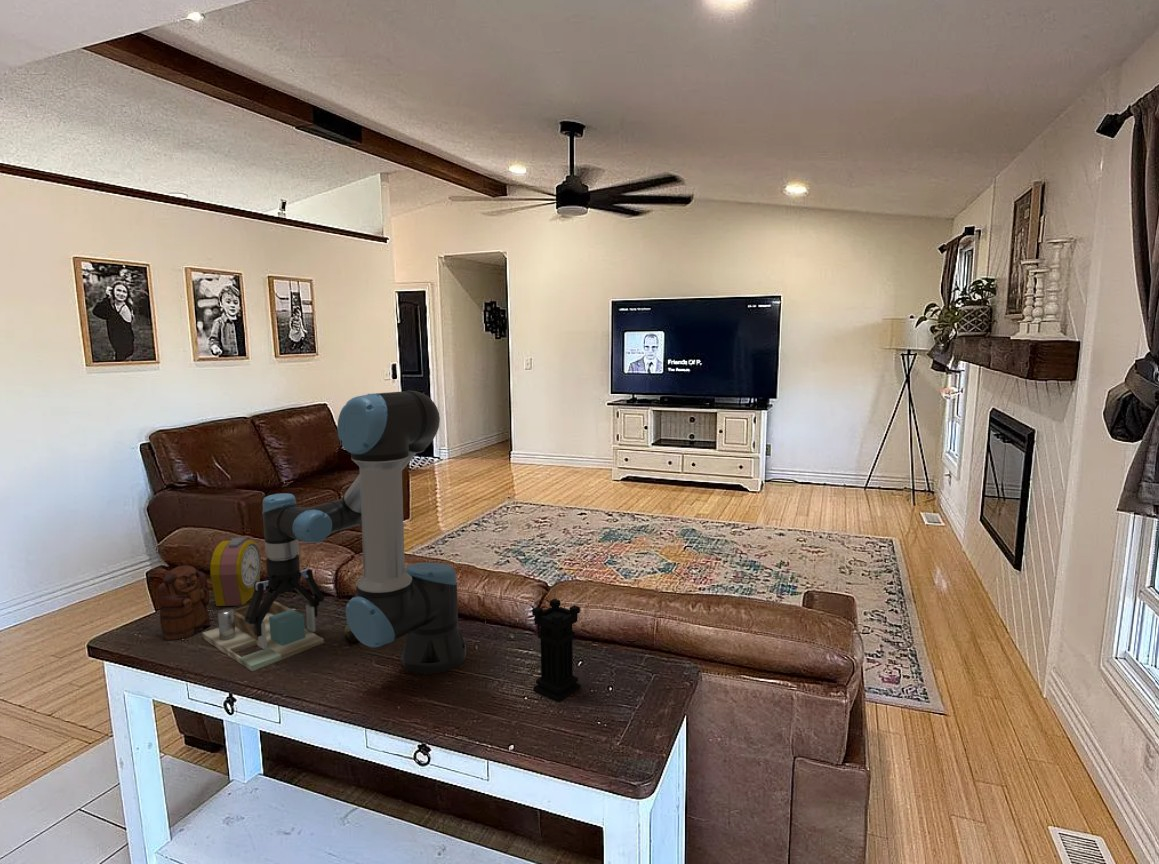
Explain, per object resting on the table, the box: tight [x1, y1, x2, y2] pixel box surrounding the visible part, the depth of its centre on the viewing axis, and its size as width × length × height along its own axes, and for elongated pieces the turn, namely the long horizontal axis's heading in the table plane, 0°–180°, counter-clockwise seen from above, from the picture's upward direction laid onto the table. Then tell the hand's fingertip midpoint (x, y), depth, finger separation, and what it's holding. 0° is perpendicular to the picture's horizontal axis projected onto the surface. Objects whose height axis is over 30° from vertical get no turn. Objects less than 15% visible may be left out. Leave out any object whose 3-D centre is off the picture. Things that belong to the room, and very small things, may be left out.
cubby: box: [233, 600, 292, 640], centre depth 175 cm, size 16×11×4 cm
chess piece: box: [531, 598, 582, 703], centre depth 141 cm, size 8×8×20 cm
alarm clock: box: [209, 537, 262, 607], centre depth 196 cm, size 15×8×18 cm, turn 2°
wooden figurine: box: [157, 565, 212, 641], centre depth 173 cm, size 12×6×18 cm, turn 160°
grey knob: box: [216, 608, 236, 641], centre depth 167 cm, size 4×4×7 cm
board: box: [201, 613, 325, 672], centre depth 169 cm, size 28×18×2 cm, turn 51°
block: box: [269, 608, 306, 646], centre depth 167 cm, size 6×6×6 cm
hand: (287, 638), depth 167 cm, fingers open, 12 cm apart
